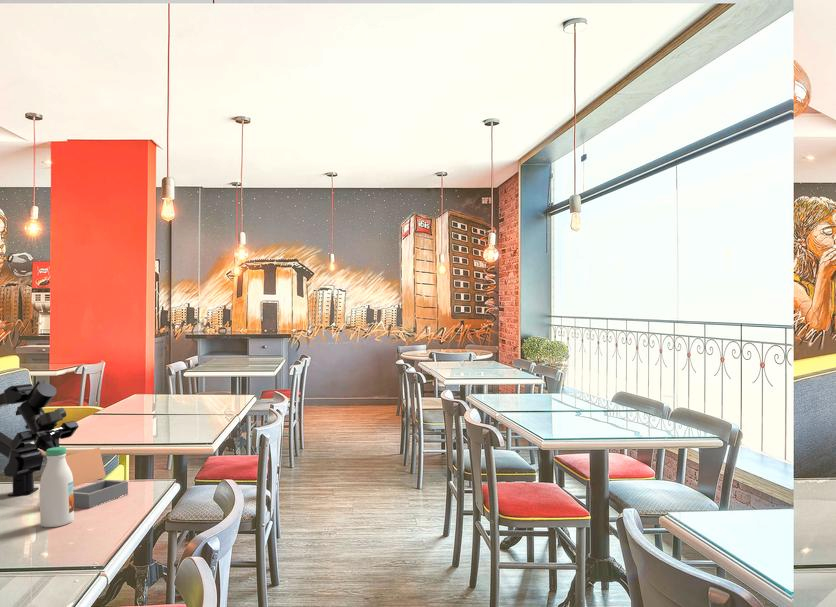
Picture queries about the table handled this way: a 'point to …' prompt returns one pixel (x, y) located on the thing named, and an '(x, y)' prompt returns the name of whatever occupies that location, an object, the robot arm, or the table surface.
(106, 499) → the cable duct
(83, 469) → the duct cover
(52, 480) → the milk bottle
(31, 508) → the table surface
